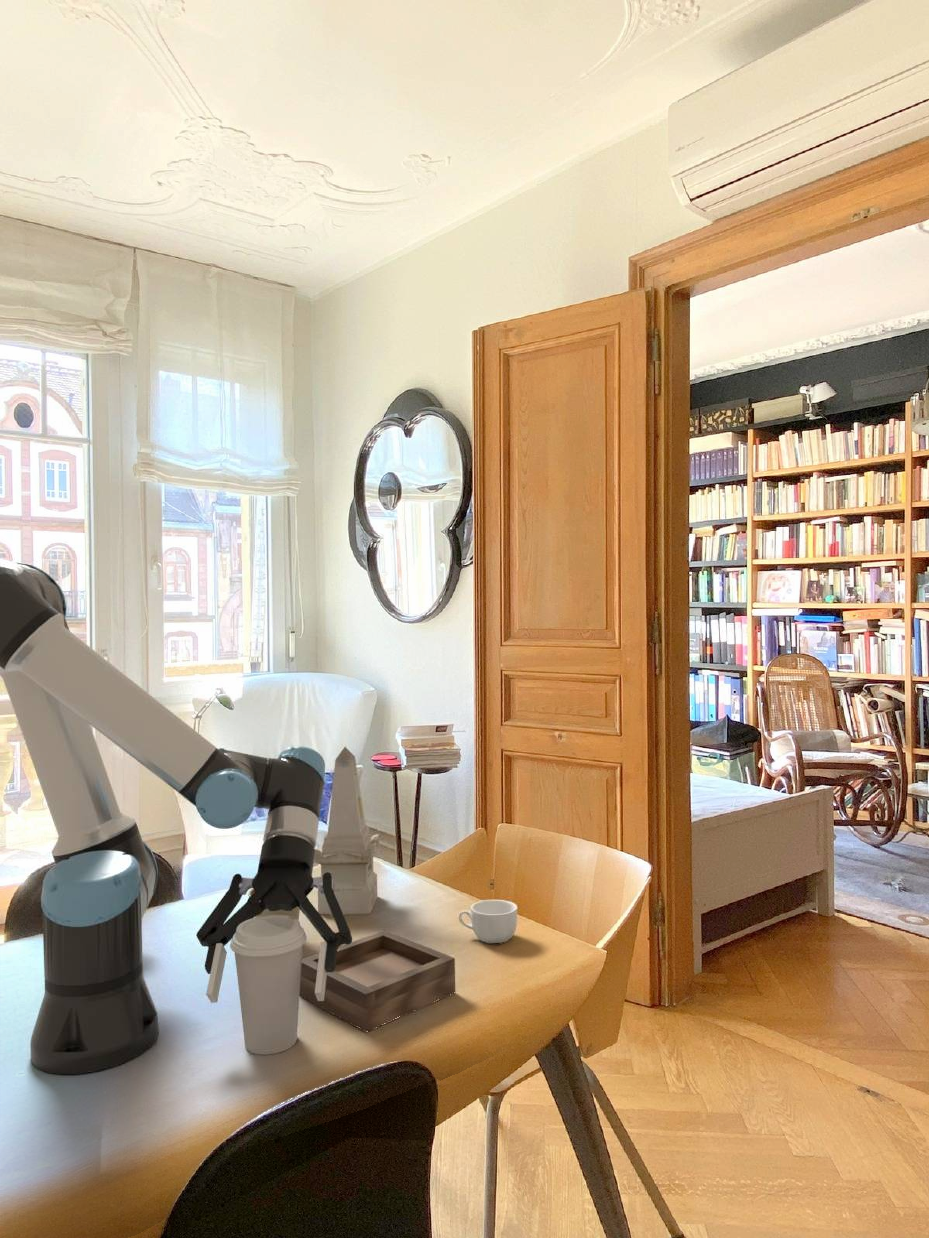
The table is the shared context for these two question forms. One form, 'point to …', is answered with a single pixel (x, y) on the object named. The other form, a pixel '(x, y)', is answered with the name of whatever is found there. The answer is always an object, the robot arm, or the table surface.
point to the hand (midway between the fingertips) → (265, 997)
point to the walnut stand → (380, 979)
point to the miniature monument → (348, 844)
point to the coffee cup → (269, 980)
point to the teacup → (492, 920)
